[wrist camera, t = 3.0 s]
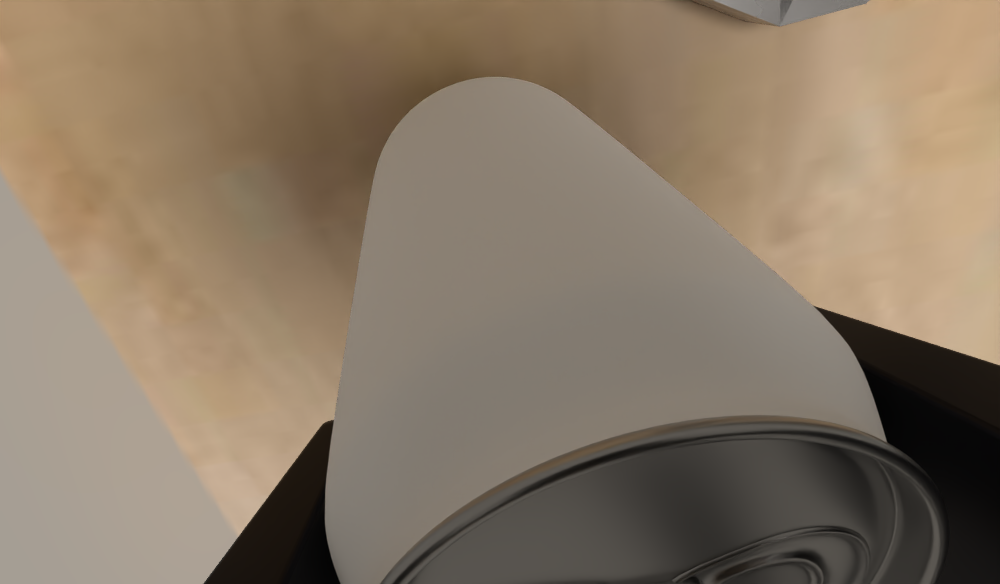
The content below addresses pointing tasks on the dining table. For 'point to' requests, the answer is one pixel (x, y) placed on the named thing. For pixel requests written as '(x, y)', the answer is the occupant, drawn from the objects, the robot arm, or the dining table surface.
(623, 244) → the can
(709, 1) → the shaft seat
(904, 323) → the dining table surface
